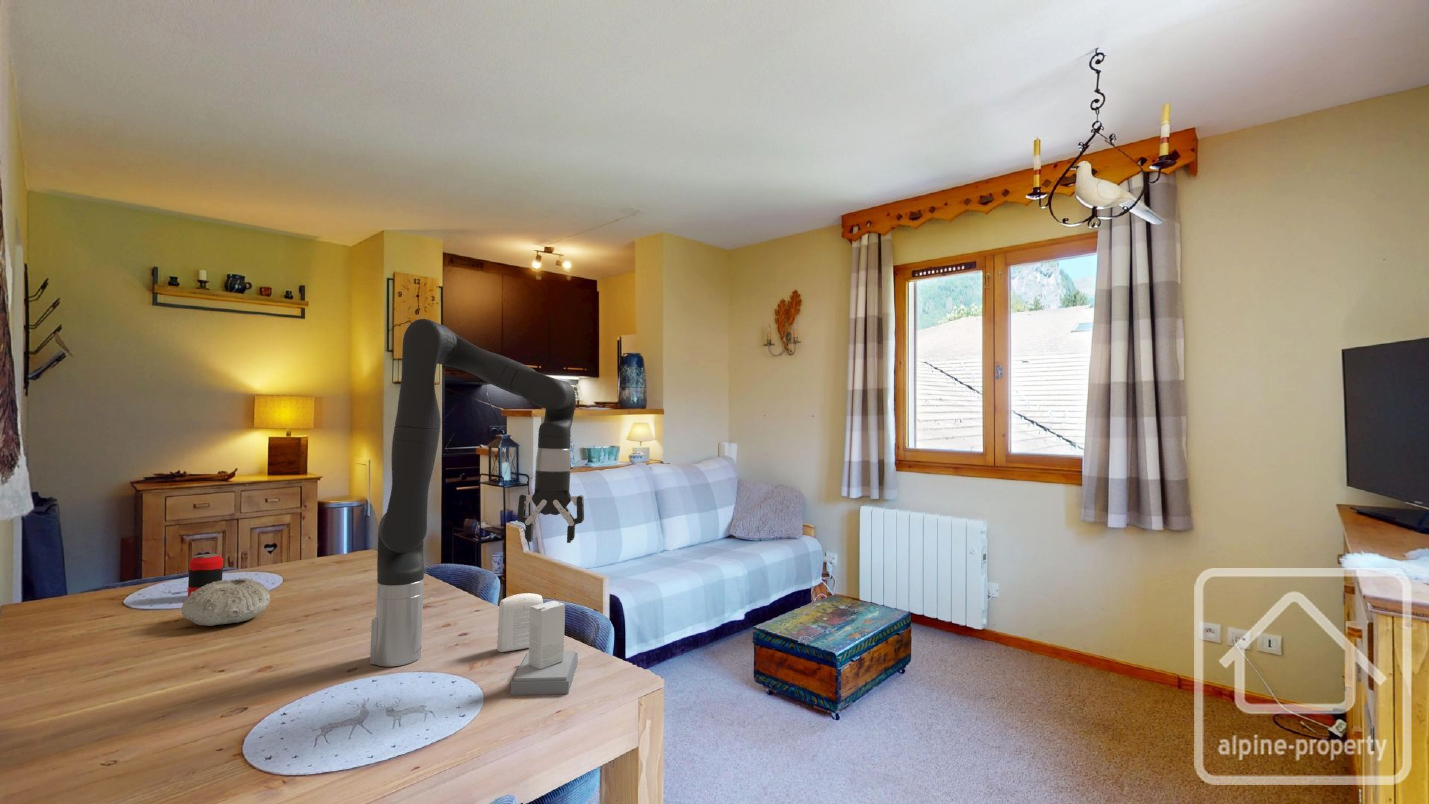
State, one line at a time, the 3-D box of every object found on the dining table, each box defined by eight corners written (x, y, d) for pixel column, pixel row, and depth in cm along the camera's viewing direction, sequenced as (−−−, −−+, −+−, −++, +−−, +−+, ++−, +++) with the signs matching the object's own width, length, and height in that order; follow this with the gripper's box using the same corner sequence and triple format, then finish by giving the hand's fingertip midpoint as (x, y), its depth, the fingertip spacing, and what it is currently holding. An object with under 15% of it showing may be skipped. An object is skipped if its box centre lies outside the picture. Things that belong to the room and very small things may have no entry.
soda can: (180, 600, 174) (182, 557, 174) (206, 593, 181) (208, 552, 182) (202, 602, 173) (204, 559, 173) (228, 594, 180) (230, 553, 180)
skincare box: (551, 656, 130) (553, 599, 131) (564, 662, 127) (566, 603, 128) (526, 665, 126) (528, 605, 126) (539, 670, 123) (541, 609, 123)
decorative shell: (267, 625, 155) (269, 585, 155) (175, 638, 145) (177, 595, 145) (270, 607, 169) (272, 570, 170) (186, 617, 159) (188, 578, 160)
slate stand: (510, 695, 118) (511, 679, 118) (526, 664, 133) (526, 650, 133) (568, 693, 119) (568, 678, 120) (577, 663, 134) (577, 649, 134)
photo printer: (538, 640, 148) (540, 589, 148) (544, 646, 144) (546, 593, 145) (494, 648, 142) (496, 594, 143) (499, 654, 139) (501, 599, 139)
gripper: (516, 469, 132) (512, 544, 131) (582, 470, 133) (579, 545, 132) (524, 466, 140) (521, 538, 139) (587, 468, 141) (584, 539, 140)
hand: (549, 541), depth 136 cm, fingers open, 8 cm apart
